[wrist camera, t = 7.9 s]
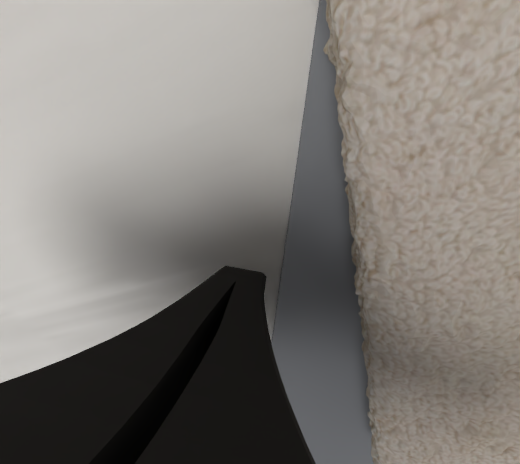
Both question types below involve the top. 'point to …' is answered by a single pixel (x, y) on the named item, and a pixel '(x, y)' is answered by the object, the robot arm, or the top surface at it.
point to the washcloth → (434, 220)
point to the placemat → (322, 285)
